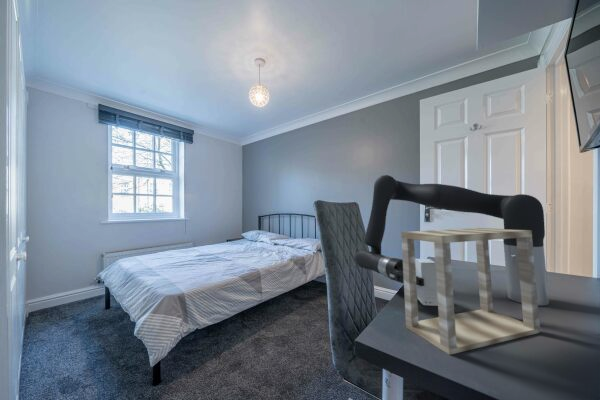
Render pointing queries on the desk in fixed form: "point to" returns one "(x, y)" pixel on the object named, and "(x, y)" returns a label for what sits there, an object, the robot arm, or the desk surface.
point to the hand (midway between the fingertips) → (432, 281)
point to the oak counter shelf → (477, 319)
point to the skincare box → (427, 282)
